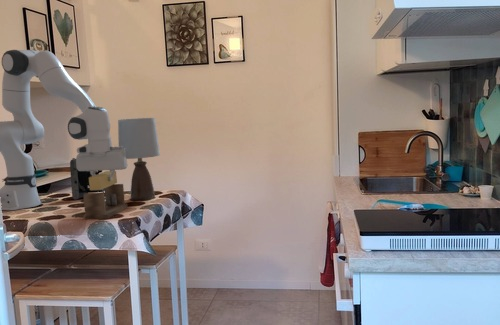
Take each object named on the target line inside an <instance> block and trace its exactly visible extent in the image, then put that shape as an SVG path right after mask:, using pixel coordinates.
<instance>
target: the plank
mask: <svg viewBox="0 0 500 325" xmlns="http://www.w3.org/2000/svg"><path fill="white" fill-rule="evenodd" d="M110 174H111V173H110V170H105V171H102V172H101V173H99V174H97V175H95V176H92V177H89V185H88V187H89V186H90V190H102V189H104V188H107V187H109V186H111V185H113V184H117V183H118V179H117V178H118V177H117V170H115V173H114V175H113V181H108V177H109V176H110Z"/></svg>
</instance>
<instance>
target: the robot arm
mask: <svg viewBox="0 0 500 325" xmlns="http://www.w3.org/2000/svg"><path fill="white" fill-rule="evenodd" d="M2 54H3V55H2V57H1V66H2V68H3V69H2V70H4V71H3V73H2V82H1V83H2V84H1V88H2V89H1V93H2V94H1V100H2V101H1V102H2V104H1V105H2V107H3V108H4V109H5V111H7V112H9V113H11V114H12V116H13V120H7V121H6V120H4V121H0V154H1V155H2V157H3V159H4V162H5V167H6V168H5V169H6V174H7V175H6V177H5V178H2V179H1V180H2V183H3V182H4V185H2V187H0V197H1V203H2V210H1V211H16V210H22V209H27V208H32V207H33V208H34V207H37V206H39V205H42V201H41V199H40V197H39V193H38V189H37V176H36V173H35V168H34V159H33V157H32V156H31V155H30V154H29V153H26V152H25V151H23V150H22V148H21V145H22V146H23V145H30V144H34V143H38V142H40V141H42V140H43V139H44V136H45V128H44V125H43V124H42V123H41V121H38V119H37V118H36V117H35V115H34V114H33V111H32V106H31V105H32V104H31V79H32V78H33V77H36V78H38V80H39V82H40V84H41V85H42V87H43V89H44V90H45V91H46V92H47V93H48V94H49V95H51V96H54V97H57V98H61V99H65V100H66V101H70V102H72V103H73V104H75V105H76V106H77V107H78V109H79V110H80V111H81V113H80V114H78V115H76V116H73V117H71V118H70V119H69V120H68V123H67V132H68V134H69V136H70V137H71V138H72V139H73V140H79V141H80V140H87V142H88V144H84V145H82V146H79V147H76V152H77V155H76V158H75V159H76V166H77V169H78V171H90V174H91V175H92V176H95V175H96V174H95V173H96V171H97V172H98V170H102V171H110V173H111V174H110V176H109V177H108V181H113V175H114V173H115V171H117V170H118V171H120V170H121V171H122V170H126V169H127V168H128V161H127V160H128V159H126V150H125V149H124V148H123V147H121V146H119V145H118V146H113V144H112V136H111V133H110V131H111V124H110V117H109V113H108V110H107V109H106V108H105V107H101V106H96V104H95V103H94V101H93V100H92V99H91V97H90V96H89V95H88V94H87V92H86V91H85V90H84V89H83V87H82V86H80V85H79V84H78V83H77V82H76V81H74V79H73V78H72V77H71V76H70V75H69V73H68V72H67V70H66V69H65V66H64V65H63V63H62V62H61V61H60V60H59V58H58V57H57V56H56V55H55V54H54V53H53V52H51V51H49V50H41V51H39V50H33V49H19V50H18V49H11V50H9V49H8V50H6V51H5V52H4V53H2ZM122 148H123V149H122Z"/></svg>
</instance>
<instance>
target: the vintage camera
mask: <svg viewBox="0 0 500 325" xmlns="http://www.w3.org/2000/svg"><path fill="white" fill-rule="evenodd" d="M69 168H70V171H69V172H70V185H71V186H70V187H71V197H72V199H73V200H79V199H81V198H82V199H83V198H84V197H83V194H84V193H104V194H105V188H104V189H102V190H90V186H89V177H92V175H91V174H90V171H78V169H77V166H76V158H75V157H73V158H71V160H70V161H69ZM100 173H103V170H97V171H96V173H95V174H96V175H97V174H100ZM104 197H105V195H104Z"/></svg>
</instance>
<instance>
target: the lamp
mask: <svg viewBox="0 0 500 325" xmlns="http://www.w3.org/2000/svg"><path fill="white" fill-rule="evenodd" d="M117 123H118V124H117V128H118V129H117V130H118V131H117V132H118V133H117V134H118V147H119V146H121V147H123V148H124V149H125V150H126V160H130V159H131V160H133V159H137V161H135V162H133V166H134V169H133V172H132V175H131V180H130V182H131V183H130V184H131V185H130V199H131V200H133V201H134V200H135V201H136V200H138V201H139V200H148V199H149V200H150V199H153V198H155V196H156V193H155V187H154V184H153V179H152V176H151V174H150V171H149V169H148V168H147V166H146V165H147V164H148V163H147V161H143V159H147V158H154V157H158V156H161V154H160V153H161V152H160V146H159V139H158V133H157V132H158V131H157V125H156V118H155V117H142V118H141V117H138V118H126V119H125V118H122V119H118V120H117ZM123 148H122V149H123Z"/></svg>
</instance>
